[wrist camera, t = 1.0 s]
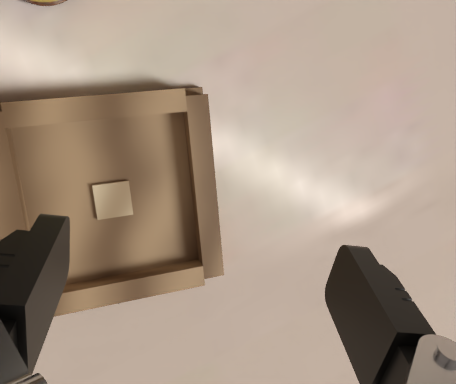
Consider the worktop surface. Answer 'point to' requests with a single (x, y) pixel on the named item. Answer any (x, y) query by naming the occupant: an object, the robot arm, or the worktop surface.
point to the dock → (116, 189)
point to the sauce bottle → (45, 2)
